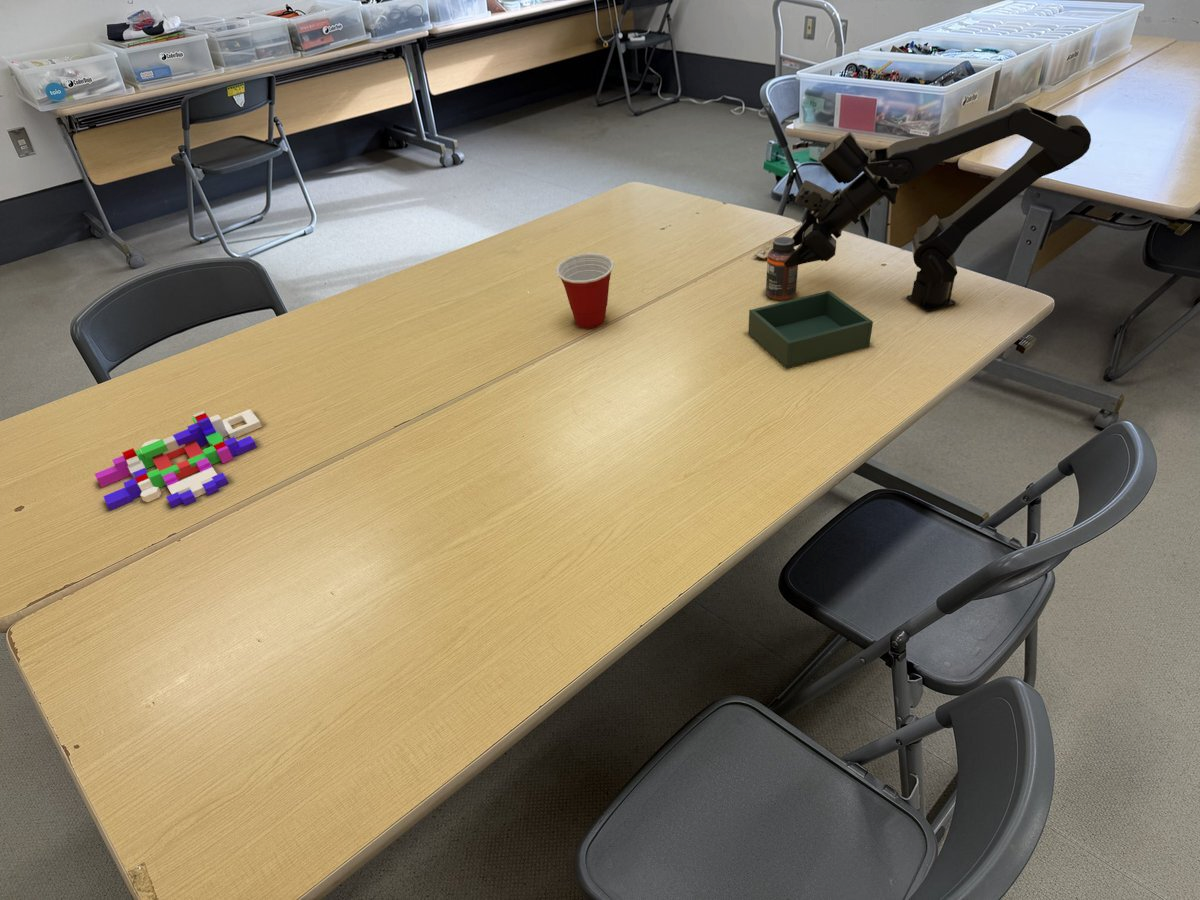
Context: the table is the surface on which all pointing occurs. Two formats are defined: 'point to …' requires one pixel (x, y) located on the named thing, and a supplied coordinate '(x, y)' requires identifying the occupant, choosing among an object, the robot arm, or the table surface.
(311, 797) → the table surface
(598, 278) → the plastic cup
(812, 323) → the bin
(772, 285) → the supplement bottle
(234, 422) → the building block set
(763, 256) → the snack bar
